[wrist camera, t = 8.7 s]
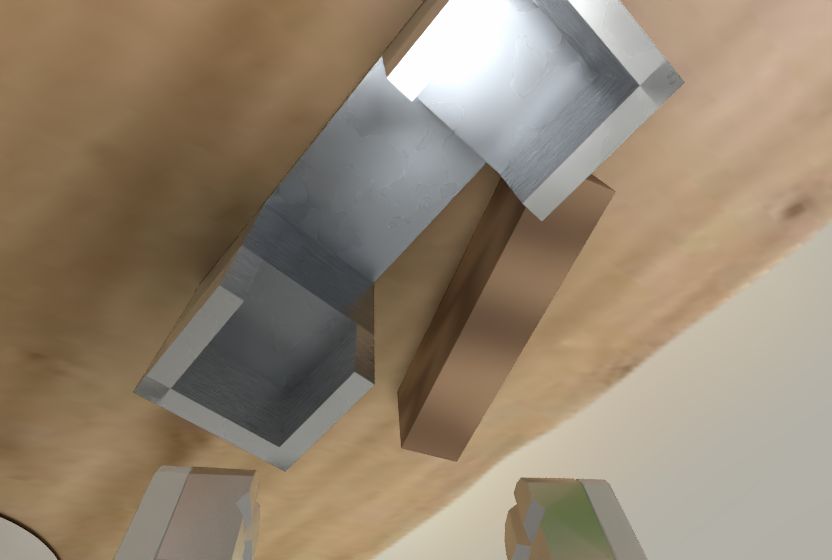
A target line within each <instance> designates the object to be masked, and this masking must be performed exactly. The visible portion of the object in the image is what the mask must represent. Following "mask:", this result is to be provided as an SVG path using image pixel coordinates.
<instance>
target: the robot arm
mask: <svg viewBox="0 0 832 560" xmlns="http://www.w3.org/2000/svg"><path fill="white" fill-rule="evenodd" d="M258 489H259V472H258V471H257V470H243V469H226V468H208V467H182V466H161V467H160V468H159V469H158V470H157V471H156V473H155V474H154V475H153V477H152V479H151V482H150V484H149V486H148V488H147V490H146V492H145V494H144V496H143V498H142V500H141V502H140V505H139V507H138V509H137V511H136V513H135V515H134V517H133V519H132V521H131V523H130V525H129V527H128V530H127V532H126V534H125V536H124V538H123V540H122V542H121V544H120V546H119V548H118V550H117V553H116V555H115V557H114V559H113V560H254V556H255V551H256V546H257V539H258V532H259V520H260V505H259V504H258V503H257V502H256V498H257V494H258ZM514 495H515V499H516V502H517V505H515V506H514V507H513V508H511V509H510V510H509V511H508V515H507V519H506V523H505V547H506V555H507V559H508V560H648V559H647V557H646V555H645V553H644V551H643V549H642V547H641V545H640V543H639V541H638V539H637V537H636V535H635V533H634V531H633V529H632V527H631V525H630V523H629V521H628V519H627V517H626V516H625V513H624V511H623V509H622V508H621V505H620V503H619V501H618V499H617V498H616V496H615V494H614V492H613V490H612V488H611V486H610V484H609V483H608V482H607V481H605V480H595V479H576V480H575V479H565V478H520V480H519V481H518V482H517V484H516V488H515V491H514ZM0 560H57V558H56V557H55V555H54V554H53V553H52V552H51V550H50V549H49V548H48V547H47V546H46V545H45V544H44V543H42V542H41V541H40V540H39V539H38V538H36V537H35V536H34V535H32V534H31V533H29V532H28V531H26V530H25V529H23V528H21V527H20V526H18V525H16V524H14V523H12V522H10V521H8V520H6V519H3V518H1V517H0Z"/></svg>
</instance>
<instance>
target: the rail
mask: <svg viewBox="0 0 832 560" xmlns="http://www.w3.org/2000/svg"><path fill="white" fill-rule="evenodd" d="M614 193H615V191H614V190H613V189H611V188H610V187H609V186H607V185H606V184H605V183H603V182H602V181H600V180H599V179H598V178H596V177H595V176H594V175H592V174H590V175H589V176H588V177H587V178H586V179H585V180H584V181H583V182H582V183H581V184H580V185H579V186H578V187H577V188H576V189H575V190H574V191H573V192H572V193H571V194H570V195H569V196H568V197H567V198H566V199H565V200H563V201H562V202H561V203H560V204H559V205H558V206H557V207H556V208H555V209H554V210H553V211H552V212H551V213H550V214H549V215H548V216H547V217H546V218H545V219H544V220H543V221H541V220H540V219H539V218H538V217H537V216H535V215H534V214H533V213H532V212H531V211H530V210H529V209H528V208H527V207H526V206H525V205H524V204H522V202H521V201H520V200H519V198H518V197H517V196H516V195H515V193H514V192H513V191H512V189H511V188H510V187H509V186H508V184H507V183H506V182H505V180H504V179H503V178H502V177H501V179H500V182H499V184H498V186H497V188H496V190H495V192H494V194H493V196H492V198H491V200H490V202H489V204H488V206H487V208H486V210H485V212H484V215H483V217H482V219H481V221H480V223H479V225H478V227H477V229H476V231H475V233H474V235H473V237H472V239H471V241H470V243H469V245H468V248H467V250H466V252H465V254H464V256H463V258H462V260H461V262H460V264H459V266H458V268H457V270H456V272H455V274H454V276H453V278H452V281H451V283H450V285H449V287H448V289H447V291H446V293H445V295H444V297H443V299H442V301H441V303H440V305H439V307H438V309H437V311H436V314H435V316H434V318H433V320H432V322H431V324H430V326H429V328H428V330H427V332H426V334H425V336H424V338H423V340H422V342H421V344H420V347H419V349H418V351H417V353H416V355H415V357H414V359H413V361H412V363H411V365H410V367H409V369H408V371H407V373H406V375H405V377H404V380H403V382H402V384H401V386H400V388H399V390H398V392H397V393H398V408H399V423H400V438H401V448H403V449H407V450H411V451H415V452H419V453H423V454H427V455H431V456H435V457H439V458H444V459H448V460H452V461H456V462H457V461H458V459H459V457H460V455H461V454H462V452H463V450H464V449H465V447H466V445H467V444H468V442H469V440H470V438H471V437H472V435H473V433H474V432H475V430H476V428H477V427H478V425H479V423H480V421H481V420H482V418H483V416H484V415H485V413H486V411H487V410H488V408H489V406H490V404H491V403H492V401H493V399H494V398H495V396H496V394H497V392H498V391H499V389H500V387H501V386H502V384H503V382H504V381H505V379H506V377H507V375H508V374H509V372H510V370H511V369H512V367H513V365H514V364H515V362H516V360H517V358H518V357H519V355H520V353H521V352H522V350H523V348H524V347H525V345H526V343H527V341H528V340H529V338H530V336H531V335H532V333H533V331H534V330H535V328H536V326H537V324H538V323H539V321H540V319H541V318H542V316H543V314H544V313H545V311H546V309H547V307H548V306H549V304H550V302H551V301H552V299H553V297H554V295H555V294H556V292H557V290H558V289H559V287H560V285H561V284H562V282H563V280H564V278H565V277H566V275H567V273H568V272H569V270H570V268H571V267H572V265H573V263H574V261H575V260H576V258H577V256H578V255H579V253H580V251H581V250H582V248H583V246H584V244H585V243H586V241H587V239H588V238H589V236H590V234H591V233H592V231H593V229H594V227H595V226H596V224H597V222H598V221H599V219H600V217H601V216H602V214H603V212H604V210H605V209H606V207H607V205H608V204H609V202H610V200H611V198H612V197H613V195H614Z"/></svg>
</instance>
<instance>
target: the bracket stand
mask: <svg viewBox="0 0 832 560" xmlns="http://www.w3.org/2000/svg"><path fill="white" fill-rule="evenodd" d="M684 83H685V82H684V81H683V80H682V78H681V77H680V76H679V75H678V73H677V72H676V71H675V70H674V68H673V67H672V66H671V65H670V63H669V62H668V61H667V60H666V58H665V57H664V56H663V55H662V53H661V52H660V51H659V50H658V48H657V47H656V46H655V45H654V43H653V42H652V41H651V40H650V38H649V37H648V36H647V35H646V33H645V32H644V31H643V30H642V28H641V27H640V26H639V25H638V23H637V22H636V21H635V19H634V18H633V17H632V16H631V14H630V13H629V12H628V11H627V9H626V8H625V7H624V6H623V4H622V3H621V2H620V1H619V0H424V2H423V3H422V4H421V6H420V7H419V8H418V9H417V11H416V12H415V13H414V14H413V16H412V17H411V18H410V19H409V21H408V22H407V23H406V24H405V26H404V27H403V28H402V30H401V31H400V32H399V33H398V35H397V36H396V37H395V38H394V40H393V41H392V42H391V43H390V45H389V46H388V47H387V48H386V50H385V51H384V52H383V54H382V55H381V56H380V57H379V59H378V60H377V61H376V62H375V64H374V65H373V66H372V67H371V69H370V70H369V71H368V72H367V74H366V75H365V76H364V78H363V79H362V80H361V81H360V83H359V84H358V85H357V86H356V88H355V89H354V90H353V91H352V93H351V94H350V95H349V96H348V98H347V99H346V100H345V102H344V103H343V104H342V105H341V107H340V108H339V109H338V110H337V112H336V113H335V114H334V115H333V117H332V118H331V119H330V120H329V122H328V123H327V124H326V125H325V127H324V128H323V129H322V131H321V132H320V133H319V134H318V136H317V137H316V138H315V139H314V141H313V142H312V143H311V144H310V146H309V147H308V148H307V149H306V151H305V152H304V153H303V155H302V156H301V157H300V158H299V160H298V161H297V162H296V163H295V165H294V166H293V167H292V168H291V170H290V171H289V172H288V173H287V175H286V176H285V177H284V179H283V180H282V181H281V182H280V184H279V185H278V186H277V187H276V189H275V190H274V191H273V192H272V194H271V195H270V196H269V197H268V199H267V200H266V201H265V203H264V204H263V205H262V206H261V208H260V209H259V210H258V211H257V213H256V214H255V215H254V216H253V218H252V219H251V220H250V221H249V223H248V224H247V225H246V227H245V228H244V229H243V230H242V232H241V233H240V234H239V235H238V237H237V238H236V239H235V240H234V242H233V243H232V244H231V245H230V247H229V248H228V249H227V251H226V252H225V253H224V254H223V256H222V257H221V258H220V259H219V261H218V262H217V263H216V264H215V266H214V267H213V268H212V269H211V271H210V272H209V273H208V275H207V276H206V277H205V278H204V280H203V281H202V282H201V283H200V285H199V286H198V288H197V289H196V291H195V292H196V293H195V294H194V296H193V297H192V299H191V301H190V302H189V304H188V305H187V307H186V308H185V310H184V312H183V313H182V315H181V316H180V318H179V320H178V321H177V323H176V324H175V326H174V328H173V329H172V331H171V332H170V334H169V336H168V337H167V339H166V340H165V342H164V343H163V345H162V347H161V348H160V350H159V351H158V353H157V355H156V356H155V358H154V359H153V361H152V363H151V364H150V366H149V367H148V369H147V371H146V372H145V374H144V375H143V377H142V379H141V380H140V382H139V383H138V385H137V386H136V388H135V390H134V391H133V392H134V393H136V394H138V395H140V396H142V397H143V398H145V399H147V400H149V401H151V402H153V403H155V404H157V405H159V406H161V407H163V408H165V409H166V410H168V411H170V412H172V413H174V414H176V415H178V416H180V417H182V418H184V419H186V420H188V421H189V422H191V423H193V424H195V425H197V426H199V427H201V428H203V429H205V430H207V431H209V432H211V433H212V434H214V435H216V436H218V437H220V438H222V439H224V440H226V441H228V442H230V443H232V444H234V445H235V446H237V447H239V448H241V449H243V450H245V451H247V452H249V453H251V454H253V455H255V456H256V457H258V458H260V459H262V460H264V461H266V462H268V463H270V464H272V465H274V466H276V467H278V468H279V469H281V470H283V471H286V470H287V469H288V468H289V467H290V466H291V465H293V464H294V463H295V462H296V461H297V460H298V459H299V458H300V457H301V456H302V455H303V454H304V453H305V452H306V451H307V450H308V449H309V448H310V447H311V446H312V445H313V444H314V443H315V442H316V441H317V440H318V439H319V438H320V437H321V436H322V435H323V434H324V433H325V432H326V431H327V430H328V429H329V428H330V427H332V426H333V425H334V424H335V423H336V422H337V421H338V420H339V419H340V418H341V417H342V416H343V415H344V414H345V413H346V412H347V411H348V410H349V409H350V408H351V407H352V406H353V405H354V404H355V403H356V402H357V401H358V400H359V399H360V398H361V397H362V396H363V395H364V394H365V393H366V392H367V391H368V390H369V389H371V388H372V387H373V386H374V385H375V381H374V282H375V281H376V280H377V279H378V278H379V277H380V276H381V275H382V274H383V273H384V272H385V270H386V269H387V268H388V267H389V266H390V265H391V264H392V263H393V262H394V261H395V260H396V259H397V258H398V257H399V256H400V254H401V253H402V252H403V251H404V250H405V249H406V248H407V247H408V246H409V245H410V244H411V243H412V242H413V241H414V240H415V238H416V237H417V236H418V235H419V234H420V233H421V232H422V231H423V230H424V229H425V228H426V227H427V226H428V225H429V224H430V222H431V221H432V220H433V219H434V218H435V217H436V216H437V215H438V214H439V213H440V212H441V211H442V210H443V209H444V208H445V206H446V205H447V204H448V203H449V202H450V201H451V200H452V199H453V198H454V197H455V196H456V195H457V194H458V193H459V192H460V190H461V189H462V188H463V187H464V186H465V185H466V184H467V183H468V182H469V181H470V180H471V179H472V178H473V177H474V176H475V174H476V173H477V172H478V171H479V170H480V169H481V168H482V167H483V166H484V165H485V164H486V163H488V164H489V165H490V166H491V167H492V168H493V169H494V170H496V171H497V172H498V173H499V174H500V175H501V177H502V178H503V179H504V180H505V182H506V183H507V184H508V186H509V187H510V188H511V189H512V191H513V192H514V193H515V195H516V196H517V197H518V198H519V200H520V201H521V202H522V204H524V205H525V206H526V207H527V208H528V209H529V210H530V211H531V212H532V213H533V214H534V215H535V216H537V217H538V218H539V219H540V220H541V221H543V220H544V219H545V218H546V217H547V216H548V215H549V214H550V213H551V212H552V211H553V210H554V209H555V208H556V207H557V206H558V205H559V204H560V203H561V202H562V201H563V200H565V199H566V198H567V197H568V196H569V195H570V194H571V193H572V192H573V191H574V190H575V189H576V188H577V187H578V186H579V185H580V184H581V183H582V182H583V181H584V180H585V179H586V178H587V177H588V176H589V175H590V174H591V173H592V172H593V171H594V170H595V169H596V168H597V167H598V166H599V165H600V164H601V163H602V162H604V161H605V160H606V159H607V158H608V157H609V156H610V155H611V154H612V153H613V152H614V151H615V150H616V149H617V148H618V147H619V146H620V145H621V144H622V143H623V142H624V141H625V140H626V139H627V138H628V137H629V136H630V135H631V134H632V133H633V132H634V131H635V130H636V129H637V128H638V127H639V126H640V125H641V124H643V123H644V122H645V121H646V120H647V119H648V118H649V117H650V116H651V115H652V114H653V113H654V112H655V111H656V110H657V109H658V108H659V107H660V106H661V105H662V104H663V103H664V102H665V101H666V100H667V99H668V98H669V97H670V96H671V95H672V94H673V93H674V92H675V91H676V90H677V89H678V88H679V87H680V86H682V85H683V84H684Z"/></svg>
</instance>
